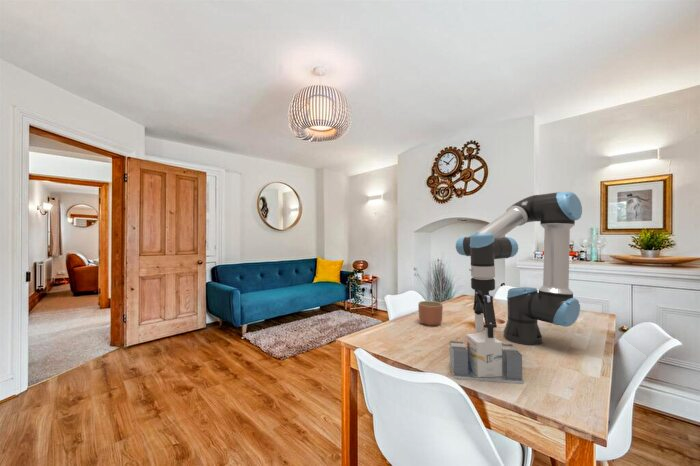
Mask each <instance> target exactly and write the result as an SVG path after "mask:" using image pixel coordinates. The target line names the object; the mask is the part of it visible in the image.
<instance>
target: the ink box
mask: <svg viewBox="0 0 700 466" xmlns="http://www.w3.org/2000/svg"><path fill="white" fill-rule="evenodd" d="M502 342H503V341H501V340H499V339H498V338H496V337H495V348H493V347H485V332H484V333H481V332H480V333H467V334H466V349H467V351H468V367H469V368H470V369H471V370H472V371H473V372H474V373H475V374H476V375H477V376H478V377H499V376H502Z"/></svg>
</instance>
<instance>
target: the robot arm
mask: <svg viewBox="0 0 700 466" xmlns="http://www.w3.org/2000/svg"><path fill="white" fill-rule="evenodd" d="M582 215H583V207H582V202H581V200H580V198H579V197H578V195H576V193H574V192H571V191H558V192H557V191H556V192H551V193H550V192H549V193H543V194H535V195H534V194H533V195H530V196H528V197H525V198H522V199H520V200H518V201H517V202H515V203H514V204H512V205H511V206H509V207H508V208H507V209H506V210H505V212H504V213H503V214H502V215H500V216H498V217H497V218H495V219H494V220H491V222H489V223H487V224H486V225H485V226H483V227H482V228H480V229H479V230H477V231H476V232H474V233H471V234H470V236H463V237H462V236H461V237H459V238H458V239H457V240H456V242H455V250H456V252H457V254H458V255H461V256H464V257H465V256H466V257H470V267H469V269H468V270H469V272H470V277H471V278H470V288H471V289H472V290H474V299H473V308H472V310H473V312H474V329H475V333H480V334H481V333H485V347H493V348H495V338H496V337H495V329H497V325H498V324H497V321H496V320H497V319H496V313H495V307H494V297H493V296H492V295H490V291H494V290H495V289H496V280H495V278H496V271H495V270H496V268H495V265H496V264H495V260H500V259H509V258H513V257H515V256H516V255H517V253H518V251H519V244H518V242H517V241H516V240H515V239H514V238H512V237H511V236H510V237H508V236H505V235H508V233H509V232H511V231H513V230H514V229H515V228H516V227H518V226H519V227H521V226H523V225H525V224H527V223H532V222H533V223H534V222H539V223H540V227H542V228H543V230H544V232H543V233H544V234H543V236H544V239H543V240H544V241H543V273H542V274H543V275H542V276H543V279H542V281H543V282H542V286H541V287H540V288H538V289H537V287H526V286H523V287H521V286H520V287H512V288H509V289H508V291H507V297H506V299H507V300H506V301H507V321H506V324H505V326H504V330H503V338H504V339H506V340H507V341H510V342H512V343H515V344H521V345H527V346H536V345H541V344H543V335H542V333H541V332H542V331H541V330H540V327H539V324H538V321H540V322H544V323H548V324H552V325H555V326H561V327H566V328H567V327H571V326H573V325H574V324H575V323H576V321H577V320H578V318H579V315H580V313H581V305H580V302H579V299H577V298H576V297H574V292H573V291H572V290H570V287H569V286H570V285H569V282H570V280H569V279H570V241H571V239H570V238H571V236H570V235H571V229H573V227H575V223H576V221H577V220H580V219H581V218H582Z"/></svg>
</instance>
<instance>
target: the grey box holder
mask: <svg viewBox="0 0 700 466" xmlns="http://www.w3.org/2000/svg"><path fill="white" fill-rule="evenodd" d="M449 366H450V369H451V373H452V375H453V378H454V379H459V380H469V381H470V380H471V381H480V382H495V383H508V384H519V385H523V384H524V380H523V355H522V354H521V353H520V351H519V349H518V348H517V347H516V346H514V345H513V344H508V343H506V344H502V376H499V377H478V376H477V375H476V374H475V373H474V372H473V371H472V370H471V369H470V368H469V367H468V351H467V345H466V344H465V343H464V342H463V341H457V340H456V341H453V340H449Z"/></svg>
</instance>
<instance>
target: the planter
mask: <svg viewBox="0 0 700 466" xmlns="http://www.w3.org/2000/svg"><path fill="white" fill-rule="evenodd" d="M417 308H418V318H419V321H420V323H422V324H423V325H425V326H428V327H429V326H431V327H435V326H439V325H440V324H441V323H442V321H443V308H444V306H443V303H442V302H439V301H437V300H436V301H435V300H423V301H422V300H421V301H419V302H418V307H417Z"/></svg>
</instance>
